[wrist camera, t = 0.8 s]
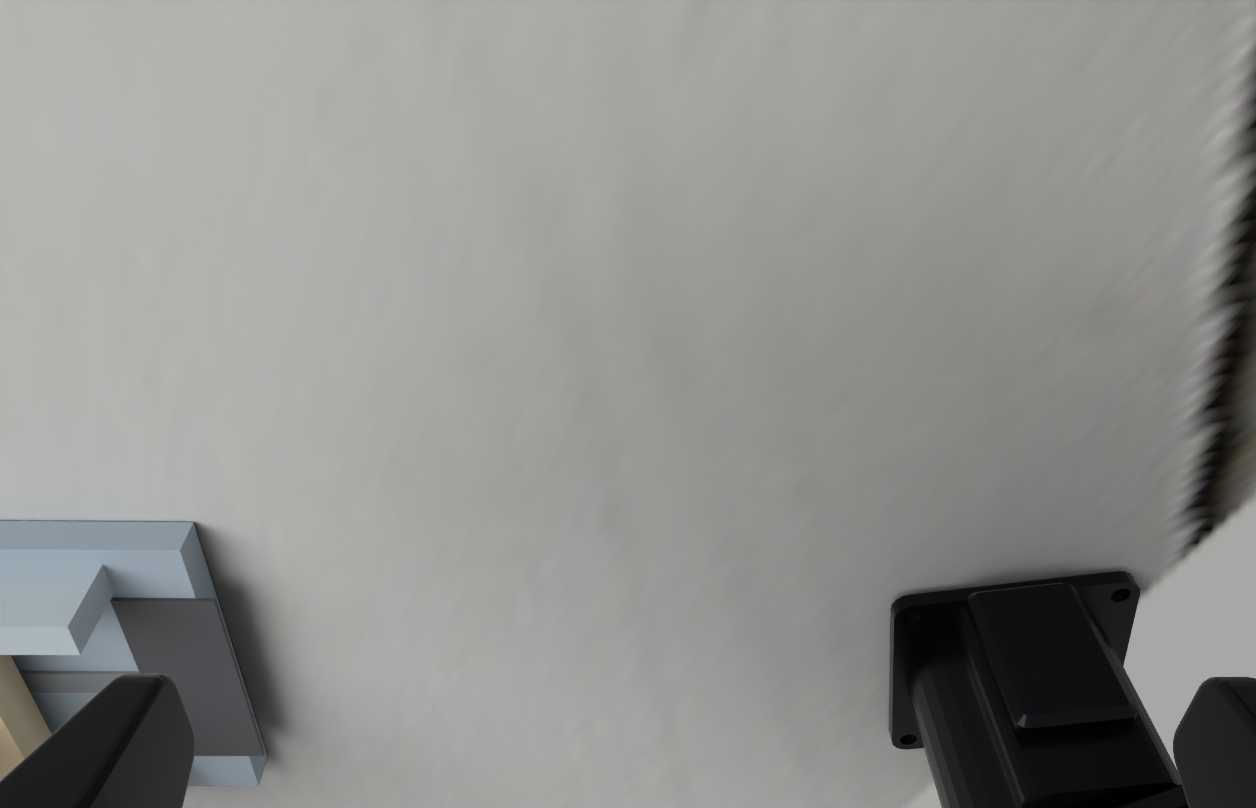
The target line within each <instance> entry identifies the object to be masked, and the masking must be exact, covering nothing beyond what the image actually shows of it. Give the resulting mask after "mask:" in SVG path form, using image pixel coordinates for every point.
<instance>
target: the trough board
mask: <svg viewBox="0 0 1256 808" xmlns="http://www.w3.org/2000/svg"><path fill="white" fill-rule="evenodd" d="M0 655H11V657H12V659H13V661H14V663H15V665H16V667H17V669H18V671H19V672H20V674H21V676H22V678H23V680H24V682H25V684H26V686H27V688H28V690H29V692H30V694H31V696H32V697H33V699H34V701H35V703H36V705H37V707H38V709H39V711H40V713H41V715H42V717H43V719H44V720H45V722H46V724H47V726H48V728H49V730H50V732H51V734H53V733H54V732H55V731H56V730H57V729H59V728H60V727H61V726H62V725H63V724H64V723H65V722H66V721H67V720H69V719H70V718H71V717H72V716H73V715H74V714H75V713H76V712H77V711H79V710H80V709H81V708H82V707H83V706H84V705H85V704H86V703H88V702H89V701H90V700H91V699H92V698H93V697H94V696H95V695H96V694H98V693H99V692H100V691H101V690H102V689H103V688H104V687H105V686H106V685H108V684H109V683H110V682H111V681H112V680H114V679H115V678H117V677H119V676H121V675H124V674H129V673H163V674H168V675H169V676H170V677H171V678H173V679H174V681H175V683H176V685H177V687H178V690H179V692H180V695H181V697H182V700H183V703H184V705H185V708H186V710H187V713H188V716H189V718H190V721H191V723H192V726H193V729H194V733H195V756H194V761H193V765H192V769H191V773H190V778H189V782H188V786H259V783H260V780H261V776H262V773H263V770H264V767H265V764H266V760H267V753H266V750H265V747H264V744H263V741H262V738H261V734H260V731H259V728H258V725H257V722H256V719H255V715H254V712H253V709H252V706H251V703H250V700H249V696H248V693H247V690H246V687H245V684H244V681H243V678H242V674H241V671H240V668H239V665H238V662H237V659H236V655H235V652H234V649H233V646H232V643H231V640H230V636H229V633H228V630H227V627H226V624H225V621H224V617H223V614H222V611H221V608H220V605H219V602H218V598H217V595H216V592H215V589H214V586H213V583H212V579H211V576H210V573H209V570H208V567H207V564H206V560H205V557H204V554H203V551H202V548H201V545H200V541H199V538H198V535H197V532H196V529H195V526H194V522H99V521H0Z"/></svg>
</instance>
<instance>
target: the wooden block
mask: <svg viewBox="0 0 1256 808" xmlns="http://www.w3.org/2000/svg"><path fill="white" fill-rule="evenodd" d="M51 735H52V734H51V732H50V730H49V728H48V726H47V724H46V722H45V720H44V719H43V717H42V715H41V713H40V711H39V709H38V707H37V705H36V703H35V701H34V699H33V697H32V696H31V694H30V692H29V690H28V688H27V686H26V684H25V682H24V680H23V678H22V676H21V674H20V672H19V671H18V669H17V667H16V665H15V663H14V661H13V659H12V657H11V655H0V781H1V780H2V779H3V778H4V777H5V776H6V775H7V774H8V773H9V772H11V771H12V770H13V769H14V768H15V767H16V766H17V765H18V764H20V763H21V762H22V761H23V760H24V759H25V758H26V757H27V756H28V755H30V754H31V753H32V752H33V751H34V750H35V749H36V748H37V747H38V746H40V745H41V744H42V743H43V742H44V741H45V740H46V739H47V738H48V737H50V736H51Z"/></svg>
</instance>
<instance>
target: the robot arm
mask: <svg viewBox="0 0 1256 808" xmlns="http://www.w3.org/2000/svg"><path fill="white" fill-rule="evenodd" d="M1139 596H1140V588H1139V586H1138V585H1137V583H1136V581H1135V580H1134V578H1133V577H1132V575H1131V574H1130V573H1127V572H1121V571H1117V572H1108V573H1099V574H1090V575H1081V576H1072V577H1064V578H1055V579H1046V580H1037V581H1028V582H1020V583H1011V584H1002V585H993V586H984V587H975V588H967V589H958V590H949V591H940V592H931V593H923V594H914V595H907V596H903V597H901V598H899V599H897V600H896V601H895V602H894V603H893V604H892V607H891V617H890V687H889V732H890V736H891V740H892V743H893V745H894V746H895V747H896V748H900V749H916V748H924V749H925V752H926V755H927V759H928V762H929V766H930V769H931V772H932V776H933V779H934V782H935V786H936V789H937V792H938V796H939V799H940V803H941V806H942V808H1256V679H1255V678H1249V677H1213V678H1209V679H1207V680H1206V681H1205V682H1203V683H1202V684H1201V686H1200V687H1199V689H1198V691H1197V692H1196V694H1195V696H1194V698H1193V700H1192V702H1191V704H1190V706H1189V707H1188V709H1187V711H1186V713H1185V715H1184V716H1183V718H1182V720H1181V722H1180V724H1179V726H1178V728H1177V730H1176V732H1175V735H1174V740H1173V752H1174V759H1175V763H1176V766H1177V769H1176V767H1175V766H1174V763H1173V762H1172V760H1171V758H1170V756H1169V754H1168V752H1167V750H1166V748H1165V746H1164V744H1163V743H1162V740H1161V738H1160V737H1159V735H1158V733H1157V731H1156V729H1155V727H1154V725H1153V723H1152V721H1151V719H1150V717H1149V716H1148V714H1147V712H1146V710H1145V708H1144V706H1143V704H1142V702H1141V700H1140V698H1139V696H1138V695H1137V692H1136V690H1135V689H1134V687H1133V685H1132V683H1131V681H1130V679H1129V677H1128V675H1127V673H1126V671H1125V669H1124V667H1123V665H1124V660H1125V656H1126V652H1127V647H1128V643H1129V639H1130V634H1131V629H1132V626H1133V621H1134V617H1135V612H1136V609H1137V604H1138V600H1139ZM912 612H913V613H912ZM908 613H910V614H908ZM194 756H195V733H194V729H193V726H192V723H191V721H190V718H189V716H188V713H187V710H186V708H185V705H184V703H183V700H182V697H181V695H180V692H179V690H178V687H177V685H176V683H175V681H174V679H173V678H171V677H170V676H169V675H168V674H163V673H129V674H124V675H121V676H119V677H117V678H115V679H114V680H112V681H111V682H110V683H109V684H108V685H106V686H105V687H104V688H103V689H102V690H101V691H100V692H99V693H98V694H96V695H95V696H94V697H93V698H92V699H91V700H90V701H89V702H88V703H86V704H85V705H84V706H83V707H82V708H81V709H80V710H79V711H77V712H76V713H75V714H74V715H73V716H72V717H71V718H70V719H69V720H67V721H66V722H65V723H64V724H63V725H62V726H61V727H60V728H59V729H57V730H56V731H55V732H54V733H53V734H52V735H51V736H50V737H48V738H47V739H46V740H45V741H44V742H43V743H42V744H41V745H40V746H38V747H37V748H36V749H35V750H34V751H33V752H32V753H31V754H30V755H28V756H27V757H26V758H25V759H24V760H23V761H22V762H21V763H20V764H18V765H17V766H16V767H15V768H14V769H13V770H12V771H11V772H9V773H8V774H7V775H6V776H5V777H4V778H3V779H2V780H1V781H0V808H182V807H183V803H184V798H185V794H186V790H187V786H188V782H189V778H190V773H191V769H192V765H193V761H194ZM1177 770H1178V771H1177Z"/></svg>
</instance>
